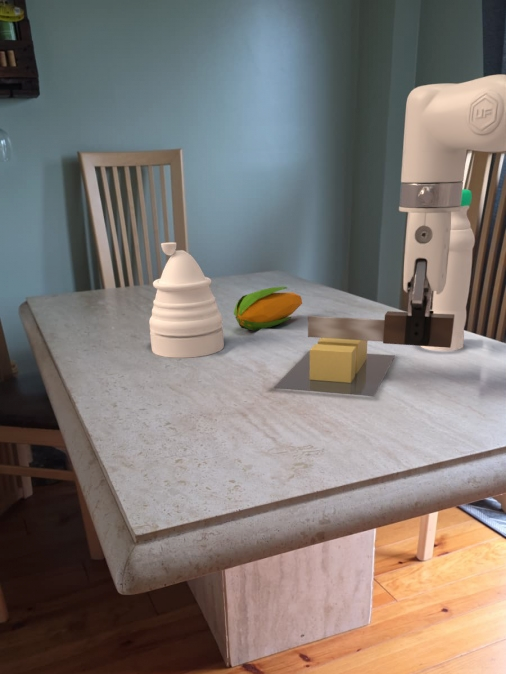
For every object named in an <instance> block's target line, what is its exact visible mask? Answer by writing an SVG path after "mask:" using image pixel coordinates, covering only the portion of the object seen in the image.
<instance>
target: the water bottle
mask: <svg viewBox="0 0 506 674" xmlns="http://www.w3.org/2000/svg"><path fill="white" fill-rule="evenodd" d="M472 196H473V195H472V191H471V190H469V189H466V188H465V189H464V188H463V189H462V198H461V205H460V206H461V208H460V211H454V212H451V233H450V245H449V255H448V265H447V277H446V284H445V287H444V290H443V291H442V292H441V293H440V294H437V291H434V297H433V307H432V310H430V311H434V312H433V313H434V314H454V315H455V316H454V325H453V334H452V343H451V347H450V348H446V347H430V346H420V347H421V348H422V349H425V350H430V351H437V352H450V351H457V350H461V349H463V348H464V341H465V326H466V323H467V304H468V299H469V293H470V286H471V278H472V266H473V248H474V246H475V242H476V239H475V234H474V232H473V229H472V227H471V226H472V225H471V222H470V220H469V217H468V210H469V209H470V206H471V204H472V198H473V197H472Z"/></svg>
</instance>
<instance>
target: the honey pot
mask: <svg viewBox="0 0 506 674" xmlns="http://www.w3.org/2000/svg"><path fill="white" fill-rule="evenodd" d="M160 247H161V250H162V252H163V253H164V254H165V255H166V256H170V257H169V258H168V260H167V261H166V263H165V265H164V268H163V270H162V273H161V276H160V278H157V279H155V280H154V281H153V282H152V286H153V288H154V289H156V292H155V293H156V294H155V298H154V299H153V301H152V305H153V306H152V309H151V316H150V318H149V321H148V324H149V330H150V332H149V336H150V345H151V352H152V353H153V354H154V355H156V356H160V357H163V358H164V357H165V358H172V359H174V358H176V359H189V358H200V357H205V356H210V355H213V354H215V353H219V352H220V351H222V349H224V347H225V340H224V328H223V316H222V313H220V312H219V306H218V305H217V303H216V297H215V296H214V295H213V291H212V290H211V287H210V285H211V284H212V279H211V278H210V277H207V276H205V273H204V272H203V270H202V269H201V267H200V265H199V263H198V262H197V261H196V259H195V258H194V257H193V256H192V255H191V254H190V253H189V252H187V251H185V250H184V249H179V250H177V242H174V241H173V242H172V241H171V242H161V243H160Z"/></svg>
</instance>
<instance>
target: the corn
mask: <svg viewBox="0 0 506 674" xmlns="http://www.w3.org/2000/svg"><path fill="white" fill-rule="evenodd" d="M287 289H288V287H287V286H276V287H275V286H273V287H267V288H264V289H260V290H257V291H254V292H251V293H248V294H244V295H242V297H240V298H239V300H238V301H237V302H236V304H235V307H234V309H233V315H234V316H235V320H236V322H237V324H238V325H239V327H240V328H241V329H244V330H250V331H260V330H261V329H265V330H266V329H269V328H271V327H275V326H278V325H280V324H283V323H285V322H287V321H290V320H291V319H292V317H291V315H293V314H294V312H296V311H297V309H298V308H300V307H301V305H302V304H303V300H302V296H301V295H299V294H298V293H295V292H279V291H282V290H287Z"/></svg>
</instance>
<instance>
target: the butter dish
mask: <svg viewBox="0 0 506 674" xmlns="http://www.w3.org/2000/svg"><path fill="white" fill-rule="evenodd" d="M395 357H396V355H394V354H381V353H380V354H379V353H367V359H366V360H365V362H364V364H363V365H362V367H361V368H360V370H359V371H358V373H357V374H355V377H354V379H353V380H352V382H351V383H344V382H331V381H318V380H310V350H309V351H308V352H307V353H306V354H305V355H304V356H303V357H302V358H301V359H300V360H299V361H298V362H297V363H296V364H295V365H294V366H293V367H292V368H291V369H290V370H289V371H288V372H287V373H286V374H285V375H284V376H283V377H282V379H280V380H279V381H278V382H277V383H276V384H275V386H273V389H280V390H292V391H293V390H294V391H305V392H317V393H327V394H328V393H330V394H340V395H353V396H364V397H375V396H376V394H377V393H378V390H379V388H380V386H381V385H382V382H383V380H384V378H385V376H386V374H387V372H388V370H389V368H390V366H391V365H392V363H393V361H394V358H395Z"/></svg>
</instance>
